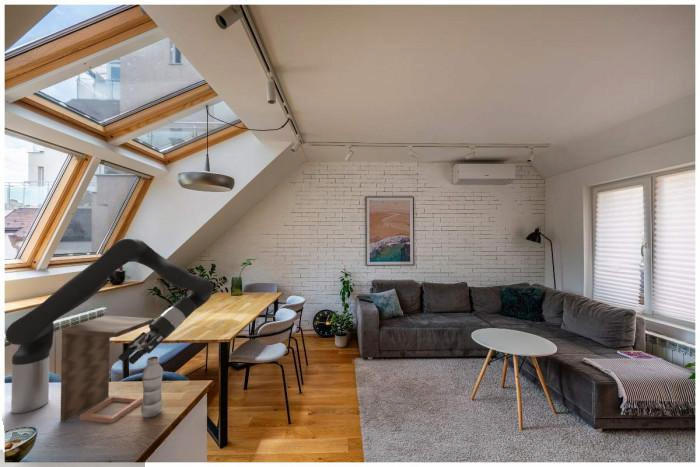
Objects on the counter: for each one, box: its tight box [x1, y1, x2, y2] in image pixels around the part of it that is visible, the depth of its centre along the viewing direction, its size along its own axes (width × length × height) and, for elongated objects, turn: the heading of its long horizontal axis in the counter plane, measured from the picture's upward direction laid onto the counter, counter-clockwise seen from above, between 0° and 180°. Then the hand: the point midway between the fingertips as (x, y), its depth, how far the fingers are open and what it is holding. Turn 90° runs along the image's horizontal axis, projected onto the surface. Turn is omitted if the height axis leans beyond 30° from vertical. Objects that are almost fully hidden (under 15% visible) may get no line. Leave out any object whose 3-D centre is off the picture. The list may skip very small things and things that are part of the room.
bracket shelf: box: [60, 315, 155, 423], centre depth 106 cm, size 16×20×32 cm
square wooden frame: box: [79, 394, 143, 424], centre depth 106 cm, size 12×12×2 cm
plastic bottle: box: [140, 355, 164, 418], centre depth 104 cm, size 6×7×20 cm
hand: (125, 360), depth 95 cm, fingers open, 8 cm apart
